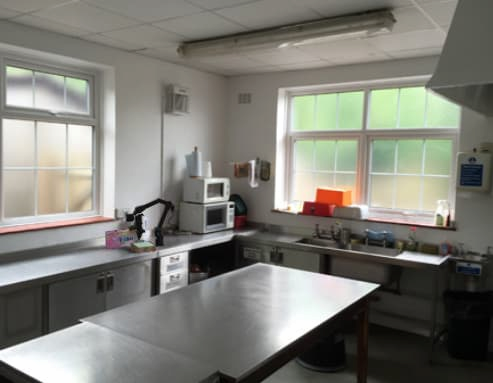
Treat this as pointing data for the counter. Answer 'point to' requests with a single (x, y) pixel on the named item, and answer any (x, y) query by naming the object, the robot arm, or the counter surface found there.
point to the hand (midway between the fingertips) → (138, 240)
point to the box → (142, 248)
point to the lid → (143, 244)
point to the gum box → (119, 238)
